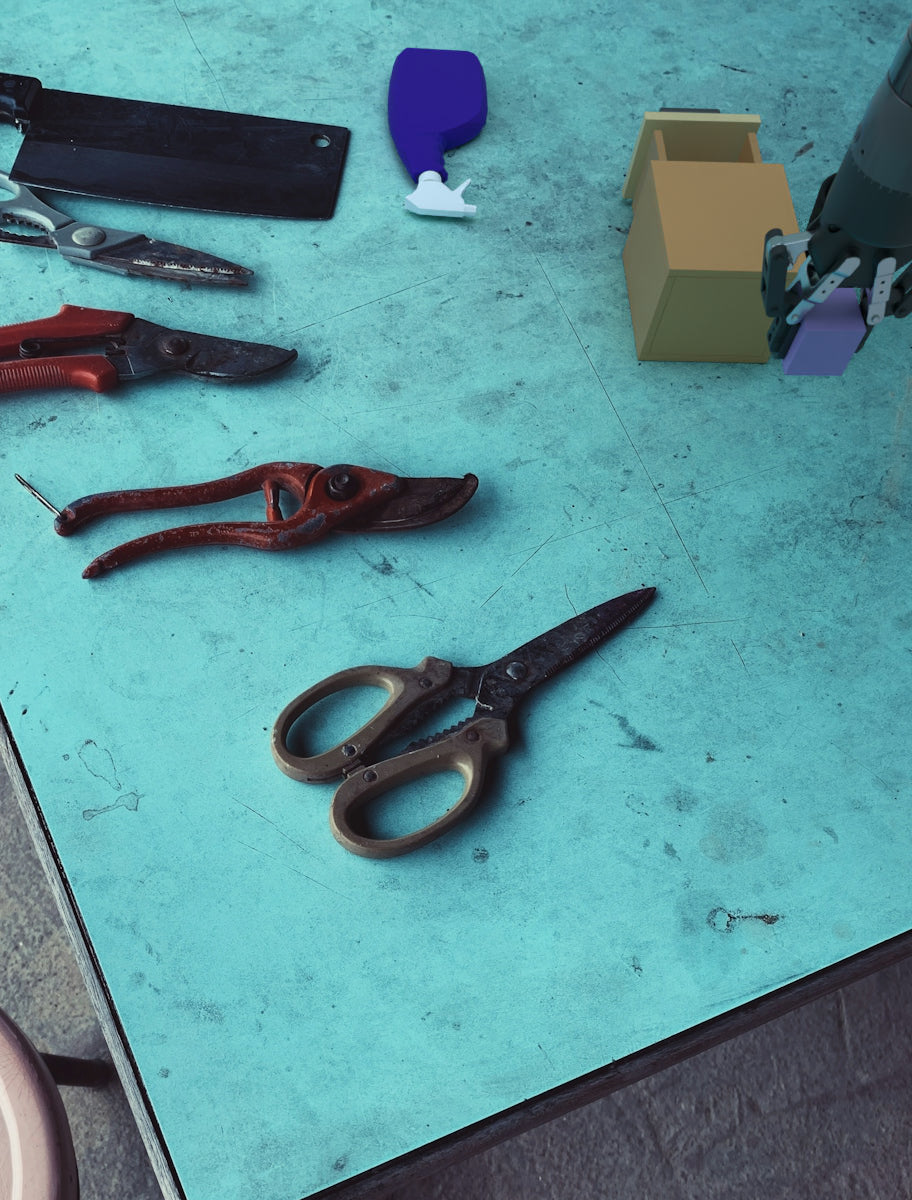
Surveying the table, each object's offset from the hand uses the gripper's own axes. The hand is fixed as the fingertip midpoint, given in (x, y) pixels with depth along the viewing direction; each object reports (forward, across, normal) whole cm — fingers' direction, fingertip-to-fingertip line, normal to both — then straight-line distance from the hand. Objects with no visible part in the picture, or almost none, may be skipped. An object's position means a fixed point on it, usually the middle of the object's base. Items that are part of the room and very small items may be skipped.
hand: (809, 351), depth 93 cm
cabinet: (+17, 0, +24) cm, 29 cm away
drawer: (+16, 0, +35) cm, 39 cm away
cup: (+17, +12, +24) cm, 32 cm away
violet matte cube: (0, 0, 0) cm, 0 cm away
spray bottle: (+17, -25, +48) cm, 57 cm away
